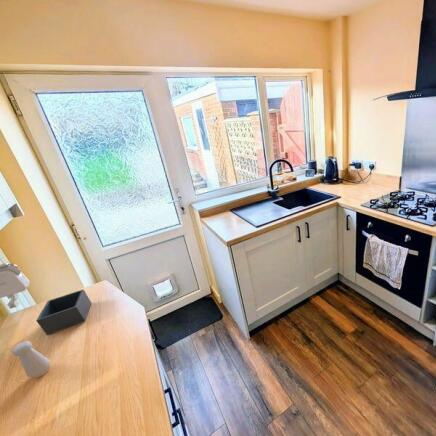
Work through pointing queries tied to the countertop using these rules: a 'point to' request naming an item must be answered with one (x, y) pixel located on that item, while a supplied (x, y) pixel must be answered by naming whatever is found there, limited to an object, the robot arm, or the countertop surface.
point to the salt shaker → (31, 360)
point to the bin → (64, 312)
